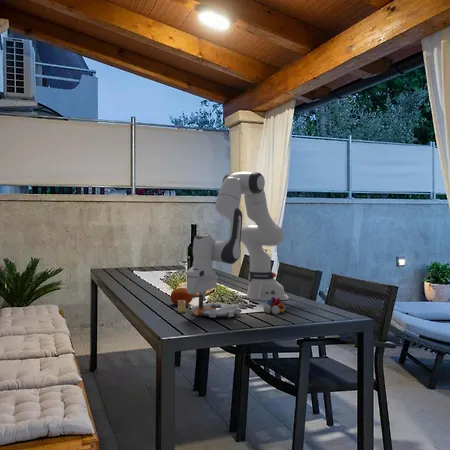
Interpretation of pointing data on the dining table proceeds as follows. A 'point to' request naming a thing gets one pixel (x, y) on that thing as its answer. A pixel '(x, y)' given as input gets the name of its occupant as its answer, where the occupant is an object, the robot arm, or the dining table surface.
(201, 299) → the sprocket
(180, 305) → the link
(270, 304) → the multicoloured rounded cluster
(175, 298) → the fruit
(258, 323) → the dining table surface
